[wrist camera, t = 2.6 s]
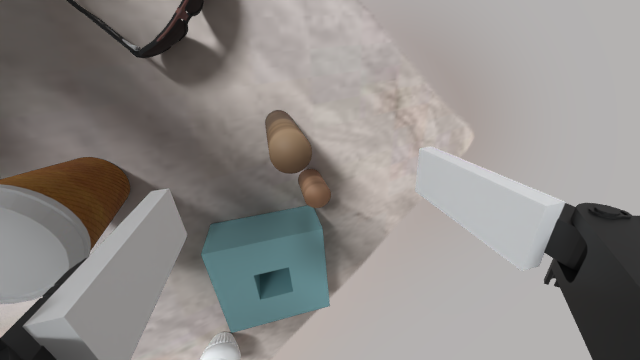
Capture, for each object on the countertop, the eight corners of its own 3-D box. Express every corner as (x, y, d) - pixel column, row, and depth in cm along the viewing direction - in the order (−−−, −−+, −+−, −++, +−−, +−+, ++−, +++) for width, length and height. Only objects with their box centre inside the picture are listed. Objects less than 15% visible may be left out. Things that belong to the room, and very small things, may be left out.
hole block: (210, 224, 32) (200, 254, 26) (312, 204, 34) (322, 228, 29) (235, 296, 37) (231, 333, 32) (320, 275, 40) (329, 305, 35)
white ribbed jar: (248, 338, 42) (247, 384, 36) (217, 354, 42) (210, 403, 36) (229, 320, 39) (224, 366, 33) (196, 337, 39) (184, 386, 33)
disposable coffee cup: (143, 225, 29) (77, 310, 19) (43, 212, 26) (-104, 306, 16) (150, 155, 26) (77, 209, 16) (38, 130, 23) (-147, 178, 13)
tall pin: (263, 111, 27) (265, 135, 17) (290, 108, 28) (309, 130, 17) (267, 138, 29) (273, 176, 18) (293, 135, 29) (313, 169, 19)
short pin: (296, 170, 31) (303, 186, 27) (320, 166, 32) (330, 181, 27) (299, 191, 33) (306, 210, 28) (321, 187, 33) (331, 205, 29)
